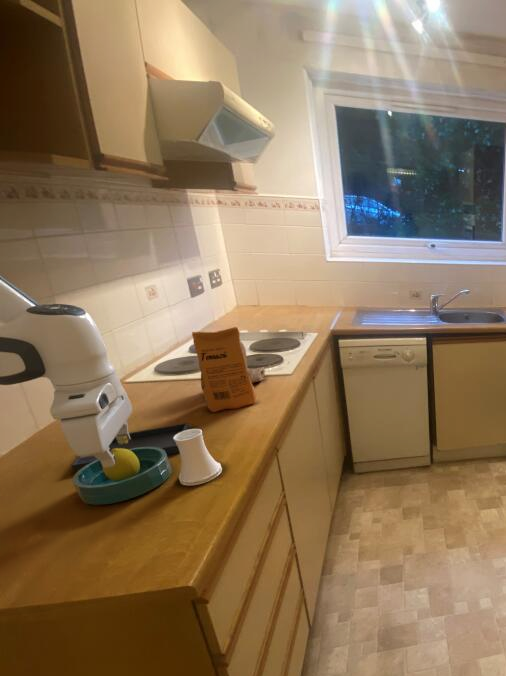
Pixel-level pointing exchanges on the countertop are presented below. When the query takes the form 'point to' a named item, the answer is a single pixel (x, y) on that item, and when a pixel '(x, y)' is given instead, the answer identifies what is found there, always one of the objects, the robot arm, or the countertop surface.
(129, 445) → the tray
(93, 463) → the bowl
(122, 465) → the lemon
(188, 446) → the vase
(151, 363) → the countertop surface
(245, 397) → the coffee package
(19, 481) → the countertop surface
